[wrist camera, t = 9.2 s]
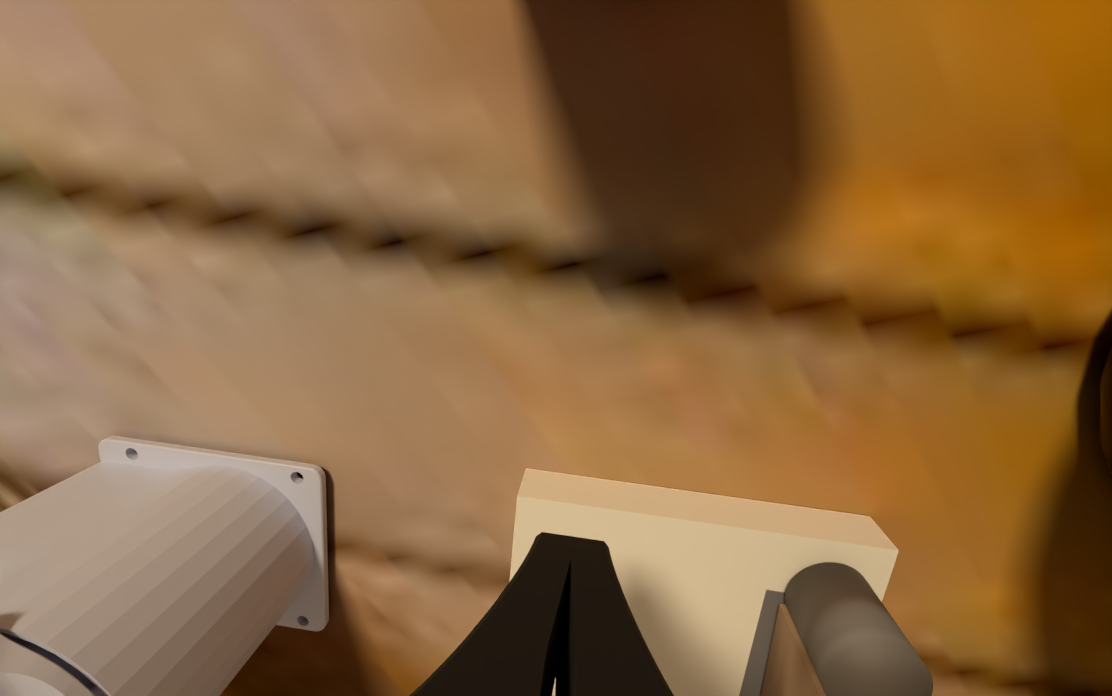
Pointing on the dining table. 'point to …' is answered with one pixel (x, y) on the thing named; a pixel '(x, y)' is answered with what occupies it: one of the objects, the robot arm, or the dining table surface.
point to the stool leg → (839, 641)
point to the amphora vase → (1106, 411)
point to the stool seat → (700, 566)
